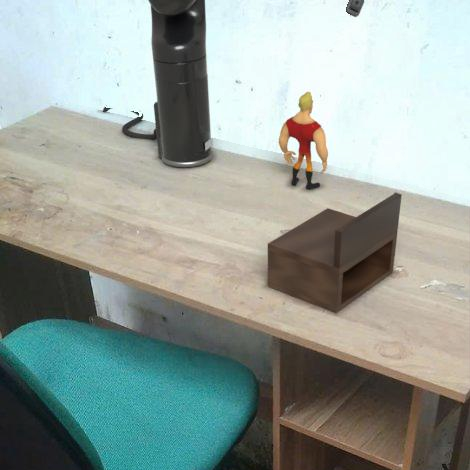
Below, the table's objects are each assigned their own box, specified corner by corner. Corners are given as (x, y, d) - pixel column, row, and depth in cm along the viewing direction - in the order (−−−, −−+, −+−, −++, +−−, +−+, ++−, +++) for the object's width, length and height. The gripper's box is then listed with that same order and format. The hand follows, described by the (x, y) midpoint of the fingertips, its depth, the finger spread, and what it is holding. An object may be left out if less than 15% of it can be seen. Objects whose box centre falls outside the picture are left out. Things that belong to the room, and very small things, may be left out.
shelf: (267, 286, 113) (267, 207, 105) (325, 249, 121) (329, 173, 112) (336, 313, 107) (341, 232, 99) (393, 272, 115) (401, 194, 107)
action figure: (332, 187, 137) (337, 93, 126) (322, 195, 135) (326, 100, 124) (286, 176, 141) (288, 84, 130) (275, 183, 139) (275, 90, 128)
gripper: (358, -91, 128) (316, 16, 133) (381, -121, 115) (333, -1, 120) (398, -69, 130) (355, 36, 135) (425, -95, 117) (376, 22, 122)
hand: (345, 19), depth 128 cm, fingers open, 8 cm apart
